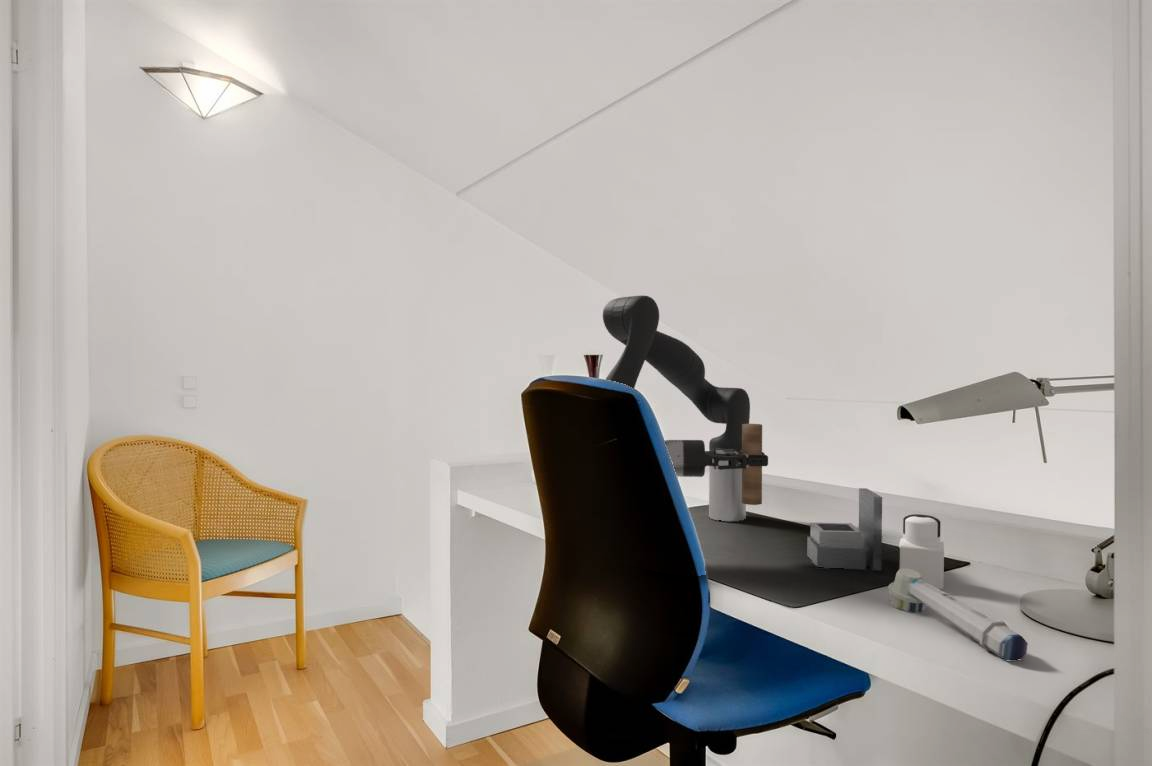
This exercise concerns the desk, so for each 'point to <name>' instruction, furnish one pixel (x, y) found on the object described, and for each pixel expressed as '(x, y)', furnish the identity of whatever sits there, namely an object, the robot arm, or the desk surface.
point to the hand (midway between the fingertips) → (765, 458)
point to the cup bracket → (850, 538)
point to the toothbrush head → (956, 614)
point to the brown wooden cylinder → (752, 473)
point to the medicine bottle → (923, 548)
